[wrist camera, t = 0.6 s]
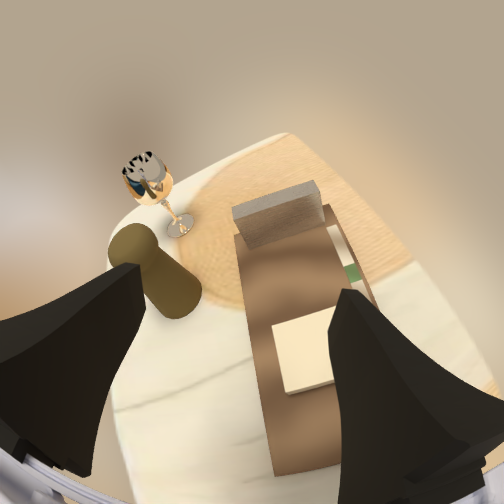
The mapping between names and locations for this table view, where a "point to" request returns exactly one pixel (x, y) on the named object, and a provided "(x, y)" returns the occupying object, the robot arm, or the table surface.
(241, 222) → the gray stone tile
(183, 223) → the wineglass
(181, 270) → the cork
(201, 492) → the table surface
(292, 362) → the carriage
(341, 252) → the gauge base
